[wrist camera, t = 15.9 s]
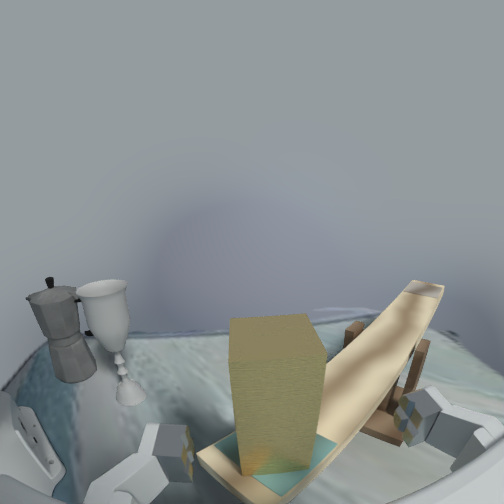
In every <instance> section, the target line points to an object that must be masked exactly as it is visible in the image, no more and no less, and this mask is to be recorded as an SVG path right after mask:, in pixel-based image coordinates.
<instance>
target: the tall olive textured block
mask: <svg viewBox="0 0 504 504" xmlns="http://www.w3.org/2000/svg"><path fill="white" fill-rule="evenodd" d="M228 363H229V373H230V382H231V391H232V400H233V409H234V418H235V426H236V434H237V442H238V450H239V457H240V464H241V471H242V476H251V475H266V474H277V473H286V472H294V471H301V470H308V469H309V467H310V463H311V458H312V453H313V448H314V443H315V437H316V432H317V426H318V420H319V414H320V407H321V401H322V394H323V387H324V379H325V371H326V363H327V352H326V350H325V348H324V346H323V344H322V342H321V340H320V339H319V337H318V335H317V333H316V331H315V329H314V327H313V326H312V324H311V322H310V320H309V318H308V316H307V315H306V314H293V315H280V316H267V317H250V318H231V319H230V333H229V360H228Z"/></svg>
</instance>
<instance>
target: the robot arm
mask: <svg viewBox="0 0 504 504" xmlns="http://www.w3.org/2000/svg"><path fill="white" fill-rule="evenodd" d="M398 403H399V407H398V408H397V409H396V410H395V412H394V416H393V418H394V424H395V427H396V428H397V430H399V431H401V432H403V435H402V438H403V439H404V441H405V442H406V444H407V446H408V447H411V446H413V445H416V444H419V443H421V442H424V441H425V442H426V443H428V444H430V445H432V446H434V447H435V448H437V449H439V450H441V451H443V452H445V453H447V454H449V455H451V456H453V457H455V458H456V460H455V461H454V462H453V464H452V465H451V467H450V469H451V471H452V473H450V474H449V475H447V476H445V477H443V478H441V479H440V480H438V481H436V482H434V483H432V484H430V485H428V486H426V487H424V488H422V489H420V490H417V491H415V492H413V493H411V494H409V495H406V496H404V497H402V498H399V499H397V500H394V501H392V502H389V503H387V504H504V426H503V425H502V424H501V423H500V422H499V421H498V420H497V419H496V418H495V417H493V416H489V415H486V414H482V413H479V412H476V411H472V410H469V409H466V408H463V407H460V406H456V405H453V406H452V405H451V404H450V403H449V402H448V401H447V400H446V399H445V398H444V397H443V396H442V395H441V394H440V392H439V391H438V390H437V389H436V388H435V387H434V386H432V385H430V386H427V387H425V388H422V389H419V390H416V391H413V392H410V393H407V394H404V395H402V396H401V397H400V398H399V401H398ZM194 456H195V450H194V442H193V439H192V438H191V437H190V429H189V426H188V425H176V424H163V423H151V422H148V423H147V424H146V426H145V429H144V432H143V435H142V439H141V442H140V445H139V448H138V452H137V453H133V454H131V455H130V456H129V457H127V458H126V459H124V460H123V461H122V462H120V463H119V464H118V465H116V466H115V467H113V468H112V469H110V470H109V471H108V472H106V473H105V474H103V475H102V476H100V477H99V478H97V479H96V480H94V481H93V482H91V483H90V486H89V489H88V491H87V494H86V497H85V500H84V502H83V504H150V503H151V502H152V501H153V500H154V498H155V497H156V496H157V495H158V494H159V493H160V492H161V491H162V490H163V489H164V488H165V487H166V486H167V485H168V484H169V482H185V483H192V477H193V467H192V465H191V463H192V462H193V461H194ZM52 463H53V464H52ZM65 472H66V470H65V467H64V465H63V464H62V462H61V461H60V459H59V457H58V456H57V454H56V452H55V451H54V449H53V447H52V445H51V443H50V442H49V440H48V438H47V436H46V434H45V432H44V430H43V428H42V426H41V424H40V422H39V420H38V418H37V416H36V414H35V412H34V411H33V409H32V408H30V407H25V406H17V405H16V403H15V401H14V400H13V398H12V397H11V395H10V394H8V393H7V392H4V391H0V504H68V503H65V502H63V501H60V500H58V499H55V498H53V497H51V496H52V492H53V489H54V487H55V485H56V484H57V483H58V482H59V481H60V480H61V479H62V478H63V476H64V475H65Z"/></svg>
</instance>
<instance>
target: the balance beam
mask: <svg viewBox="0 0 504 504" xmlns="http://www.w3.org/2000/svg"><path fill="white" fill-rule="evenodd" d="M443 293H444V286H442V285H437V284H431V283H426V282H421V281H416V280H412V281H411V283H410V284H409V285H408V286H407V287H406V288H405V289H404V290H403V291H402V293H401V294H400V295H399V296H398V297H397V298H396V299H395V300H394V301H393V302H392V303H391V304H390V305H389V306H388V307H387V308H386V309H385V310H384V311H383V312H382V313H381V314H380V315H379V316H378V317H377V318H376V319H375V320H374V321H373V322H372V323H371V324H370V325H369V326H368V327H367V328H366V329H365V330H364V331H363V332H362V333H361V334H360V335H359V336H358V337H357V338H355V339H354V340H353V341H352V342H351V343H350V344H349V345H348V346H347V347H346V348H344V349H343V350H342V351H341V352H340V353H339V354H338V355H336V356H335V357H334V358H333V359H332V360H331V361H329V362H328V363H327V364H326V371H325V379H324V387H323V394H322V401H321V407H320V414H319V420H318V426H317V432H316V437H315V443H314V448H313V453H312V458H311V463H310V467H309V469H308V470H301V471H294V472H286V473H277V474H266V475H251V476H242V471H241V464H240V457H239V450H238V442H237V434H236V430H235V431H234V432H232V433H230V434H229V435H227V436H225V437H224V438H222V439H220V440H219V441H217V442H215V443H214V444H212V445H210V446H208V447H207V448H205V449H203V450H201V451H199V452H198V453H196V455H197V458H198V461H199V464H200V465H201V466H202V467H203V468H204V469H205V470H206V471H207V472H208V473H209V474H210V475H212V476H213V477H214V478H215V479H216V480H217V481H218V482H219V483H220V484H222V485H223V486H224V487H225V488H226V489H227V490H229V491H230V492H231V493H232V494H233V495H234V496H236V497H237V498H238V499H239V500H241V501H242V502H243V503H244V504H287V503H289V502H290V501H291V500H292V499H293V498H294V497H296V496H297V495H298V494H299V493H300V492H301V491H302V490H303V489H304V488H306V487H307V486H308V485H309V484H310V483H311V482H312V481H313V480H314V479H315V478H316V477H317V476H318V475H319V474H320V473H321V472H322V471H323V470H324V469H325V468H326V467H327V466H328V465H329V464H330V463H331V462H332V461H333V460H334V459H335V458H336V457H337V456H338V454H339V453H340V452H341V451H342V450H343V449H344V448H345V447H346V446H347V444H348V443H349V442H350V441H351V440H352V439H353V437H354V436H355V435H356V434H357V433H358V431H359V430H360V429H361V428H362V426H363V425H364V424H365V423H366V421H367V420H368V419H369V418H370V416H371V415H372V414H373V412H374V411H375V410H376V408H377V407H378V406H379V404H380V403H381V402H382V400H383V399H384V397H385V396H386V394H387V393H388V392H389V390H390V389H391V387H392V386H393V384H394V383H395V381H396V380H397V378H398V377H399V375H400V373H401V372H402V370H403V369H404V367H405V366H406V364H407V362H408V361H409V359H410V357H411V356H412V354H413V352H414V350H415V349H416V347H417V345H418V343H419V342H420V340H421V338H422V336H423V334H424V332H425V330H426V329H427V327H428V325H429V323H430V321H431V319H432V317H433V315H434V313H435V311H436V308H437V306H438V304H439V302H440V300H441V298H442V296H443Z"/></svg>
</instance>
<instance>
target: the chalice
mask: <svg viewBox="0 0 504 504" xmlns="http://www.w3.org/2000/svg"><path fill="white" fill-rule="evenodd" d="M126 287H127V282H126V281H123V280H115V279H114V280H102V281H96V282H93V283H89V284H87V285H84V286H82V287H80V288H78V289H77V291H76V294H77V296H78V297H79V298H80V300H81V301H82V305H83V309H84V313H85V317H86V321H87V324H88V328H89V329H90V331H91V332H92V334H93V335H94V337H95V338H96V339H97V340H98V341H99V343H100V344H101V345H102V346H103V347H104V348H105V349H106V350H107V351H109V352H113V353H114V355H115V361H114V363H115V364H117V366H118V371H117V373H118V374H119V375H120V376H121V377H122V381H121V382H120V383H119V385H118V386H117V392H116V394H117V395H116V400H117V402H118V403H120V404H122V405H125V406H134V405H137V404H139V403H141V402H142V401H143V400H144V399H145V398H146V392H145V390H144V389H143V388H142V387H141V386H140V385H139V384H138V383H137V382H136V381H134V380H132V379H128V377H127V373H128V369H126V368H125V367H124V362H125V360H124V359H123V358H122V356H121V354H120V350H122V349H123V348H124V347H125V343H126V340H127V336H128V331H129V324H130V315H129V310H128V304H127V299H126V294H125V291H126Z"/></svg>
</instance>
